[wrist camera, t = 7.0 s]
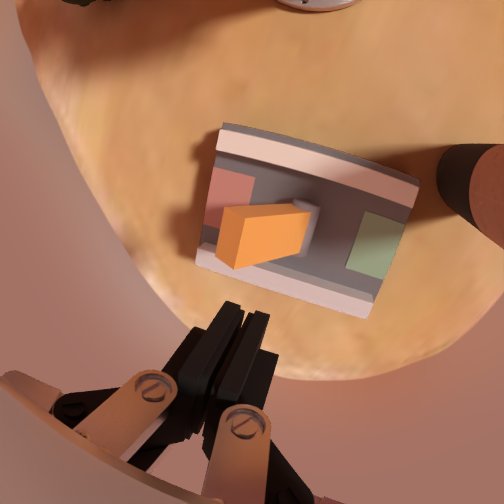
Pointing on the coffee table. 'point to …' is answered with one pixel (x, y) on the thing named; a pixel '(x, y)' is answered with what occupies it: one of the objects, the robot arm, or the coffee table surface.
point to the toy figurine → (81, 2)
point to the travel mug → (475, 186)
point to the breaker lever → (266, 232)
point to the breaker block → (329, 221)
